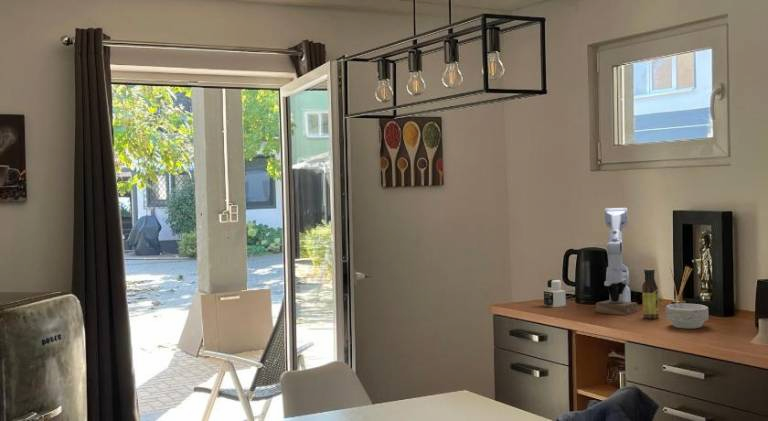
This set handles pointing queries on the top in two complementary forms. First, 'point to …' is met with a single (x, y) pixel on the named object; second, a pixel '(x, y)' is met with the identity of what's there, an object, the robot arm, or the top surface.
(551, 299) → the medicine bottle
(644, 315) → the sauce bottle
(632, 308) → the brown wooden block
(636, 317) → the top surface
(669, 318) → the grey stone bowl
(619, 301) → the rail bracket
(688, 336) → the top surface
